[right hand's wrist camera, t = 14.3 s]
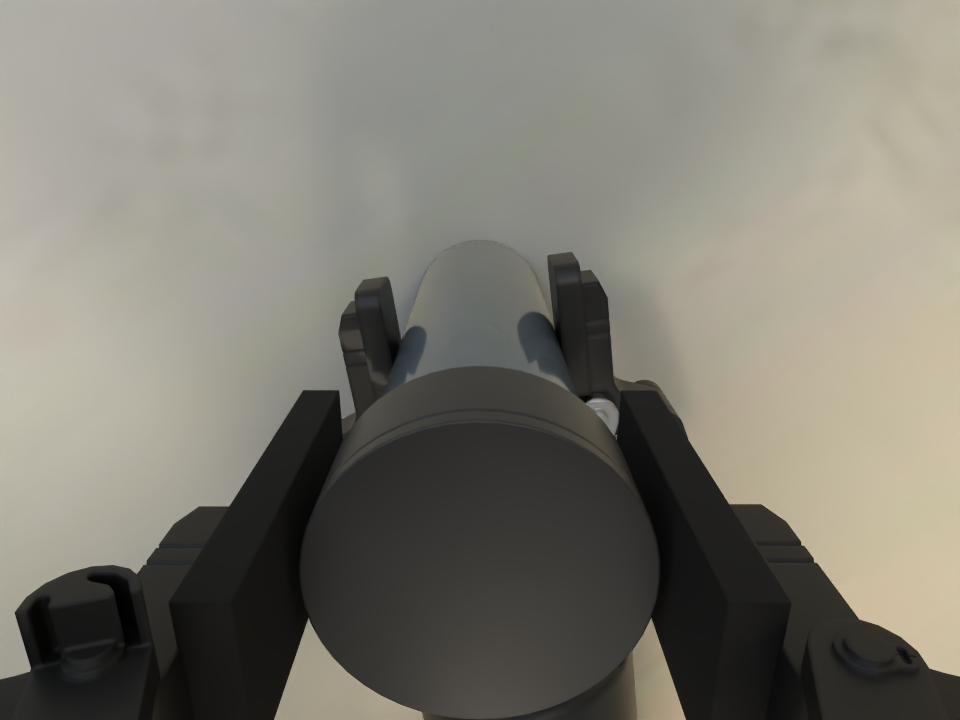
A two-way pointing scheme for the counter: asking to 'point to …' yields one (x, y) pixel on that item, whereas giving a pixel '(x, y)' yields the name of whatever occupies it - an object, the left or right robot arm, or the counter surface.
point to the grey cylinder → (479, 318)
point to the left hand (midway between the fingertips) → (465, 274)
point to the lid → (479, 547)
